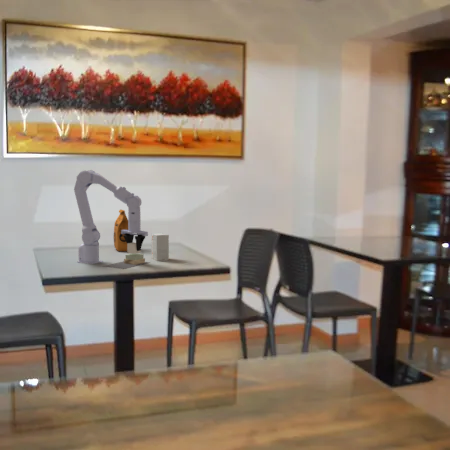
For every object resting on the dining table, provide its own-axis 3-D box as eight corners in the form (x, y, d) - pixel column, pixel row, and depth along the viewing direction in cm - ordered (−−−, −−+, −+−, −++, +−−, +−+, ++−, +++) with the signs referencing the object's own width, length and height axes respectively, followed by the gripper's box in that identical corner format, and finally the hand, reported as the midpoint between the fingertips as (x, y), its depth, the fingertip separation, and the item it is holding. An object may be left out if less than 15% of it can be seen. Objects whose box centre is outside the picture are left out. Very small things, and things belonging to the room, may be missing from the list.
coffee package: (114, 252, 314) (114, 211, 312) (113, 248, 326) (112, 209, 324) (133, 251, 316) (133, 211, 314) (131, 248, 328) (131, 209, 326)
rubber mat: (102, 266, 270) (102, 266, 270) (129, 260, 287) (129, 260, 287) (124, 269, 264) (124, 269, 264) (151, 263, 281) (151, 262, 281)
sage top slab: (125, 259, 278) (125, 254, 278) (133, 257, 283) (133, 253, 283) (135, 260, 275) (135, 256, 275) (143, 258, 280) (143, 254, 280)
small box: (168, 261, 288) (168, 234, 287) (156, 261, 286) (156, 235, 284) (163, 258, 296) (163, 232, 294) (151, 259, 293) (151, 233, 291)
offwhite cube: (127, 252, 278) (127, 243, 277) (133, 251, 282) (133, 242, 281) (134, 253, 276) (134, 244, 275) (140, 252, 280) (140, 243, 279)
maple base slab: (124, 263, 278) (124, 259, 278) (133, 261, 284) (133, 257, 284) (135, 264, 275) (135, 260, 275) (144, 262, 281) (144, 258, 281)
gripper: (116, 221, 278) (117, 249, 279) (141, 223, 270) (141, 252, 272) (126, 220, 284) (126, 247, 285) (150, 222, 276) (150, 250, 278)
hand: (134, 250), depth 279 cm, fingers closed on offwhite cube, 4 cm apart
